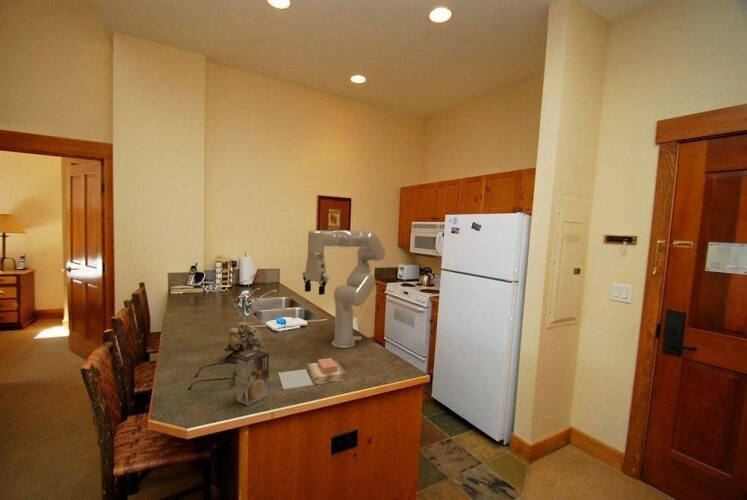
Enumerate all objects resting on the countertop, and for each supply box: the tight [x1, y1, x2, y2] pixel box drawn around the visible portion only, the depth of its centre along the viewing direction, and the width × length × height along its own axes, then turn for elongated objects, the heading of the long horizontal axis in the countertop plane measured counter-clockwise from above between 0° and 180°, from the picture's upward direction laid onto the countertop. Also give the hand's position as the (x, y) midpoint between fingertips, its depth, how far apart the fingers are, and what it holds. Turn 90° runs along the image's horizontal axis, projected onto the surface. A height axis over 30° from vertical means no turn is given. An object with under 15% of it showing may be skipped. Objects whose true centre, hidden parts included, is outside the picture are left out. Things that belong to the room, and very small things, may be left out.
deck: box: [306, 360, 347, 386], centre depth 141 cm, size 13×14×3 cm
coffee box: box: [236, 349, 270, 406], centre depth 120 cm, size 9×6×16 cm
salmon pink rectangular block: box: [317, 357, 337, 374], centre depth 141 cm, size 6×9×2 cm, turn 23°
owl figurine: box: [222, 321, 265, 365], centre depth 156 cm, size 18×12×17 cm, turn 129°
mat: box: [278, 368, 315, 391], centre depth 136 cm, size 12×15×1 cm
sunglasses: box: [187, 361, 237, 390], centre depth 133 cm, size 16×17×5 cm
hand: (314, 292), depth 159 cm, fingers open, 9 cm apart
